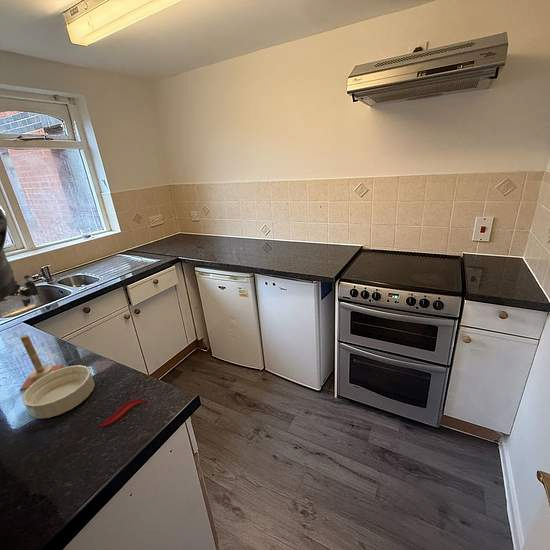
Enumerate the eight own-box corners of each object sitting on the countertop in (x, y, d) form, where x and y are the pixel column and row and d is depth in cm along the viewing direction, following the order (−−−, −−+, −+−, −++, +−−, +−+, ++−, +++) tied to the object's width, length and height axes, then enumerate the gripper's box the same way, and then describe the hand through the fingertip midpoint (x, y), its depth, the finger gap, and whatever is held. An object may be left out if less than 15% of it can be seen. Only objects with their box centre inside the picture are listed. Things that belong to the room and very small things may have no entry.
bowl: (18, 428, 77) (10, 413, 76) (42, 387, 92) (36, 374, 90) (88, 408, 82) (81, 394, 80) (100, 372, 96) (95, 359, 94)
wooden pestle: (28, 384, 93) (7, 344, 88) (35, 372, 98) (17, 333, 93) (50, 378, 95) (31, 338, 89) (56, 367, 100) (39, 329, 95)
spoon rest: (20, 390, 91) (19, 389, 91) (32, 372, 100) (31, 371, 99) (53, 382, 94) (53, 380, 94) (62, 365, 102) (62, 363, 102)
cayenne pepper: (145, 396, 84) (143, 391, 83) (148, 406, 80) (146, 400, 80) (97, 418, 78) (95, 412, 77) (98, 429, 74) (96, 424, 74)
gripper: (23, 251, 66) (32, 287, 78) (-69, 272, 57) (-43, 310, 68) (38, 277, 65) (44, 310, 77) (-54, 303, 55) (-31, 337, 67)
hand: (3, 310), depth 72 cm, fingers open, 8 cm apart
